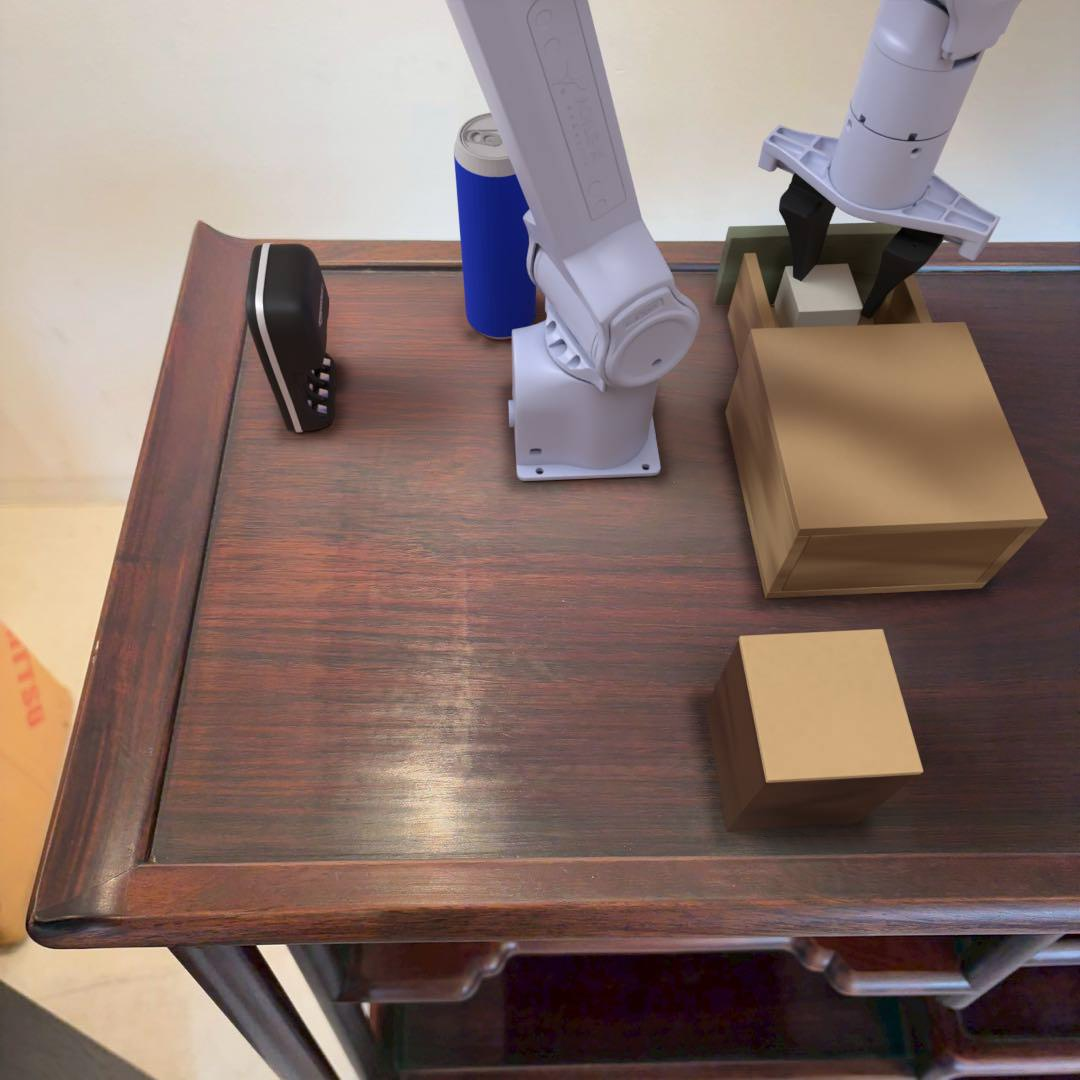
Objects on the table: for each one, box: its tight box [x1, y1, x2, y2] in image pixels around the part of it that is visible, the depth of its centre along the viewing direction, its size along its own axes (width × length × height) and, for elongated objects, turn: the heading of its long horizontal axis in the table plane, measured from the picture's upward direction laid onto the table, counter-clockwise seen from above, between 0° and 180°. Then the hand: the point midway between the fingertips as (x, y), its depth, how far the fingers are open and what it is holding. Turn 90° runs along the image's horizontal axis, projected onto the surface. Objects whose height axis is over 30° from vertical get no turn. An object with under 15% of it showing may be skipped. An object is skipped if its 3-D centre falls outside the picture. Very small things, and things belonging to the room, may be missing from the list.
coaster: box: [738, 628, 924, 783], centre depth 41 cm, size 7×7×1 cm
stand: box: [705, 639, 921, 832], centre depth 45 cm, size 7×7×9 cm
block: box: [773, 264, 863, 328], centre depth 62 cm, size 4×4×4 cm
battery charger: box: [245, 242, 337, 433], centre depth 57 cm, size 7×4×11 cm, turn 4°
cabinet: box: [724, 321, 1049, 599], centre depth 55 cm, size 15×14×8 cm
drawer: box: [711, 221, 933, 367], centre depth 61 cm, size 15×12×6 cm
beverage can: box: [453, 112, 537, 340], centre depth 60 cm, size 5×5×15 cm
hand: (836, 291), depth 61 cm, fingers closed on block, 5 cm apart
